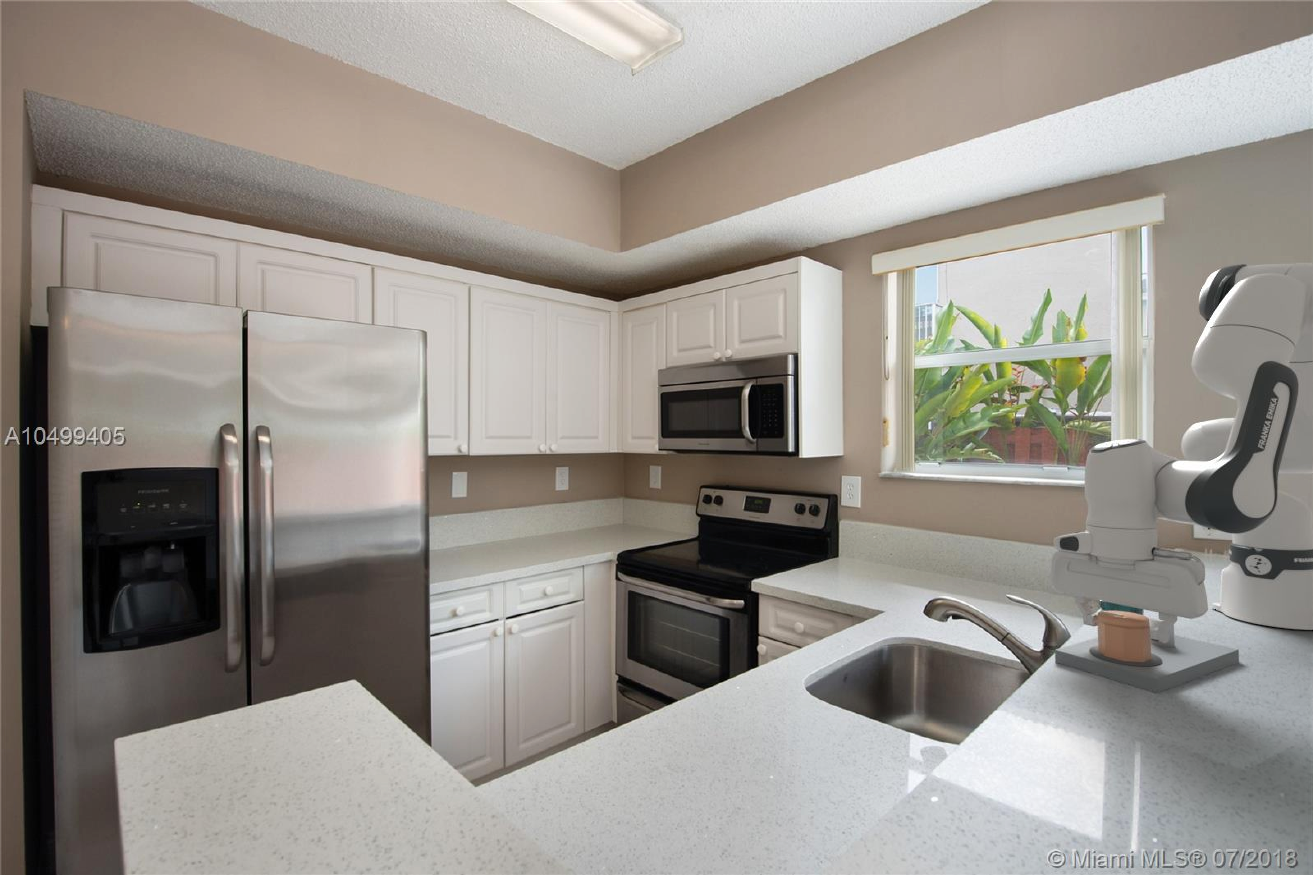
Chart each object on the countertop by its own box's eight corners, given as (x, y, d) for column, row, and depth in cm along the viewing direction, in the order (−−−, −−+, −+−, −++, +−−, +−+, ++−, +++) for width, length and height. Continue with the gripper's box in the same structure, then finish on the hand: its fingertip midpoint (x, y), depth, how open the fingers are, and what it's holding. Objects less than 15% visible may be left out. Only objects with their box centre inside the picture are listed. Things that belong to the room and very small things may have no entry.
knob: (1158, 656, 94) (1157, 616, 94) (1138, 665, 91) (1137, 623, 91) (1111, 645, 99) (1109, 607, 99) (1090, 652, 96) (1089, 613, 96)
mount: (1137, 637, 109) (1136, 604, 109) (1239, 662, 96) (1237, 624, 96) (1055, 662, 98) (1054, 624, 99) (1157, 693, 86) (1155, 650, 86)
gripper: (1215, 551, 87) (1218, 649, 87) (1066, 534, 105) (1068, 614, 105) (1192, 556, 84) (1196, 656, 84) (1043, 537, 103) (1046, 620, 103)
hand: (1124, 633), depth 95 cm, fingers open, 8 cm apart
